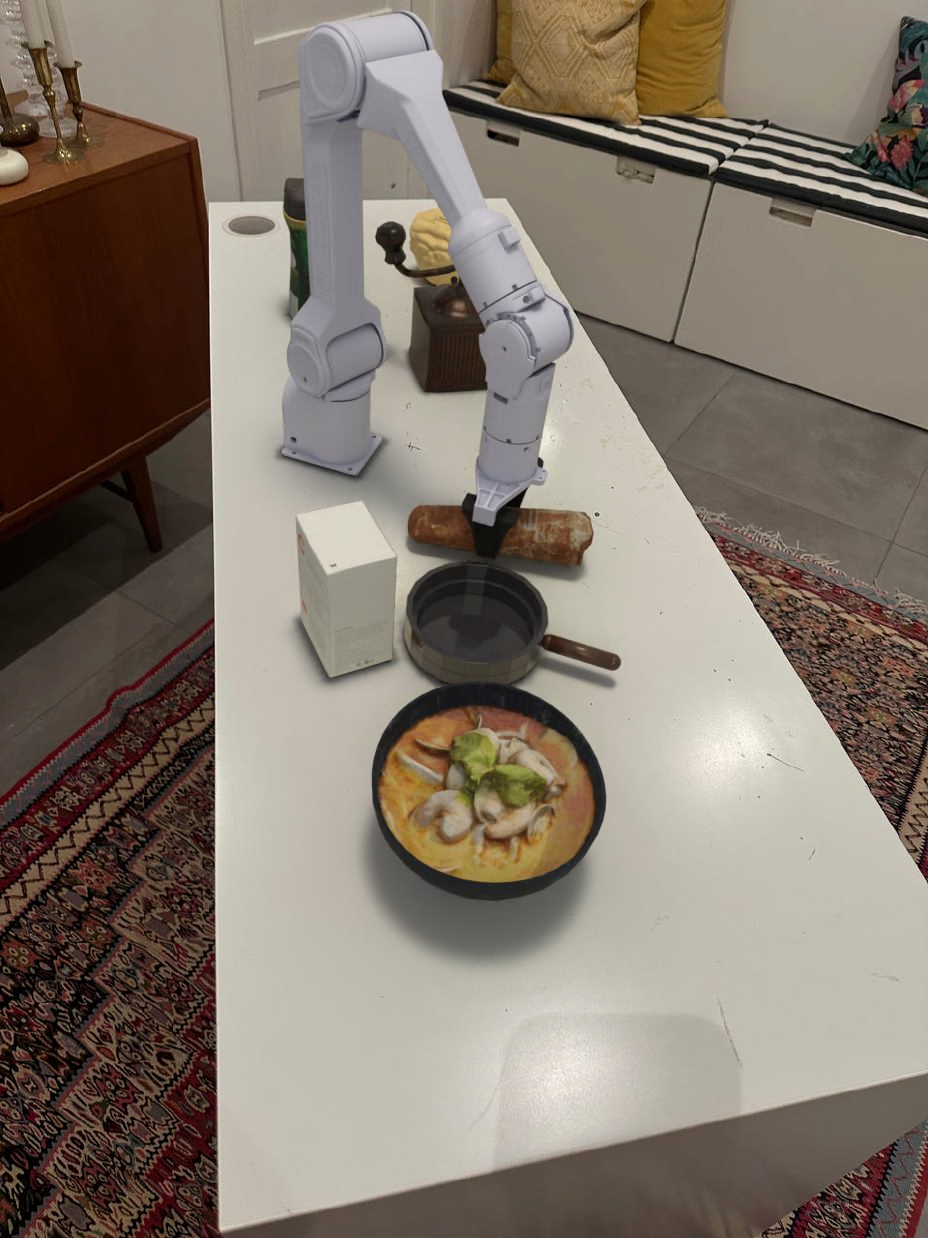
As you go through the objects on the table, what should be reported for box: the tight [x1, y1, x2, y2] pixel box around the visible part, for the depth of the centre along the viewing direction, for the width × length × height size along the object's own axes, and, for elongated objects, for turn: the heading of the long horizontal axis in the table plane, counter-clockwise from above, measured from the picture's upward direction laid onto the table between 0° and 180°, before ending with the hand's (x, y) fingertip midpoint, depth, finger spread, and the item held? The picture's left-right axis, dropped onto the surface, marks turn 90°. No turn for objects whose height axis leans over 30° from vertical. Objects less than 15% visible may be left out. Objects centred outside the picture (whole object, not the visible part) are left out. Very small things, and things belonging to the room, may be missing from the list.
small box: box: [295, 500, 398, 678], centre depth 77 cm, size 8×6×13 cm
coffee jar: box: [282, 177, 310, 319], centre depth 116 cm, size 10×8×19 cm
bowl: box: [371, 681, 607, 902], centre depth 65 cm, size 17×17×10 cm
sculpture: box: [409, 206, 459, 287], centre depth 131 cm, size 12×12×11 cm
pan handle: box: [542, 633, 622, 672], centre depth 80 cm, size 8×2×2 cm, turn 71°
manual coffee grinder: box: [374, 220, 488, 393], centre depth 110 cm, size 16×11×18 cm
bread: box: [406, 504, 595, 567], centre depth 90 cm, size 6×19×6 cm, turn 83°
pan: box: [403, 560, 549, 685], centre depth 82 cm, size 13×13×4 cm
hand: (495, 536), depth 91 cm, fingers closed on bread, 6 cm apart
